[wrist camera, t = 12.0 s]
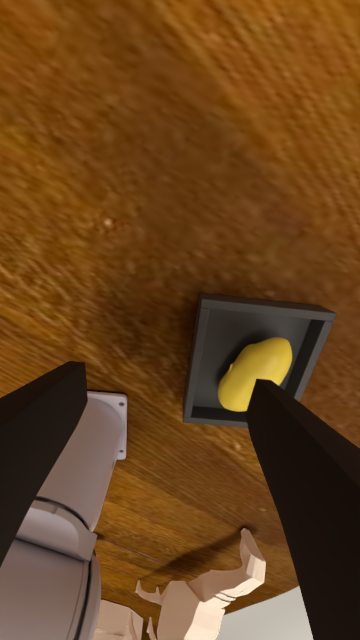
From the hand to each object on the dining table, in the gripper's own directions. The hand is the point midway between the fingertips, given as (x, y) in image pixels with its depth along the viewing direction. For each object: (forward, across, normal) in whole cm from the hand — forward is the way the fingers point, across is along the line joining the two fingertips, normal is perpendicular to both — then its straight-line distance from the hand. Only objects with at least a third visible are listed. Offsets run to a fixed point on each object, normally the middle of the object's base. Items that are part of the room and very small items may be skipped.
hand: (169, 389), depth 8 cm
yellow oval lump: (+9, -7, +4) cm, 12 cm away
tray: (+9, -7, +4) cm, 12 cm away
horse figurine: (+10, -7, +43) cm, 45 cm away
